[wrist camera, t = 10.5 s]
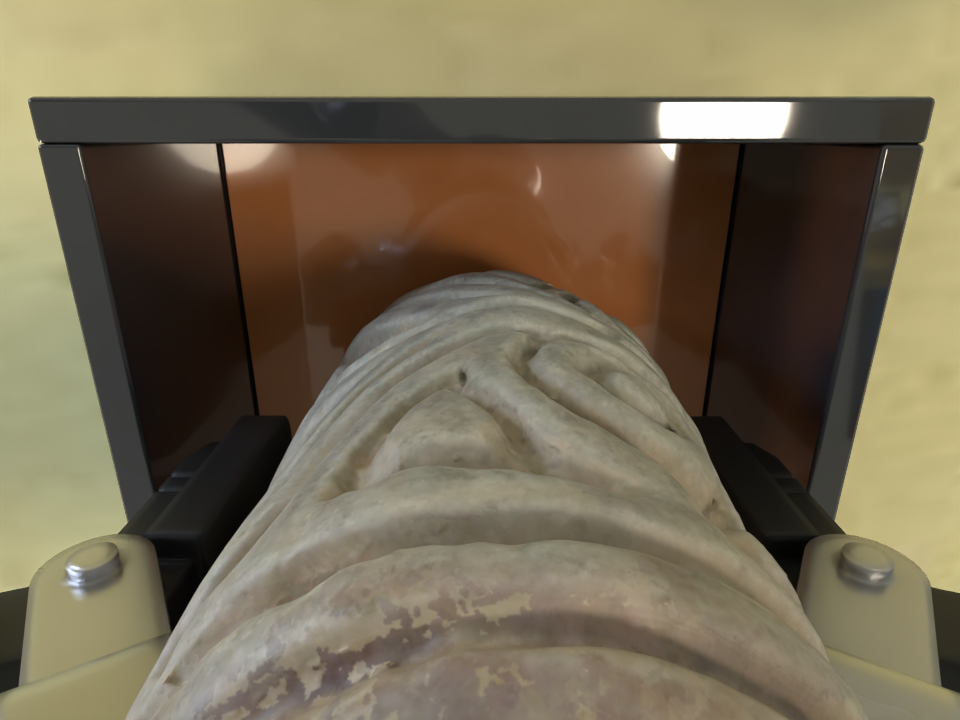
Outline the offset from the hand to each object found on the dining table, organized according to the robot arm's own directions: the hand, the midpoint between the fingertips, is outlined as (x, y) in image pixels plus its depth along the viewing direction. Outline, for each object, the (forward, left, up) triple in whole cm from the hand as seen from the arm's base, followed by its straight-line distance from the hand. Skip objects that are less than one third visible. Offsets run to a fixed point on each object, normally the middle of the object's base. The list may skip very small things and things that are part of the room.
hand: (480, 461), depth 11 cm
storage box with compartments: (+6, 0, -5) cm, 7 cm away
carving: (0, 0, -4) cm, 4 cm away
